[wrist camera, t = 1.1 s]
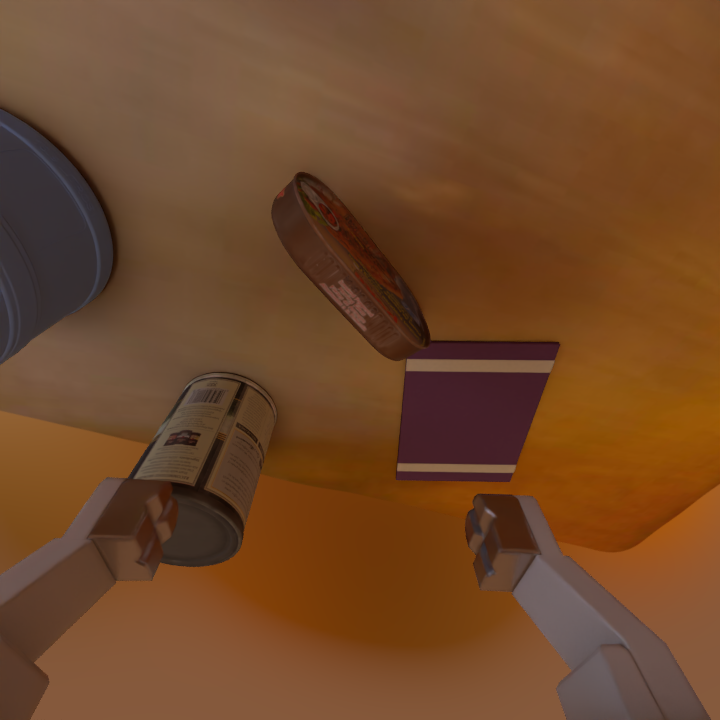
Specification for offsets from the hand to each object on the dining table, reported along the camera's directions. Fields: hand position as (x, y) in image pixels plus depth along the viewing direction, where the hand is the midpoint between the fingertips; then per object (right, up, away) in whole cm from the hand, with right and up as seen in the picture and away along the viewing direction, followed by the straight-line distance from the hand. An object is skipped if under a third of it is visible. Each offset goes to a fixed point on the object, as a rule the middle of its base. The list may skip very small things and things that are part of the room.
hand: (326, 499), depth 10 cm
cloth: (+12, -3, +30) cm, 32 cm away
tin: (+1, +12, +20) cm, 23 cm away
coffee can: (-13, -1, +30) cm, 33 cm away
